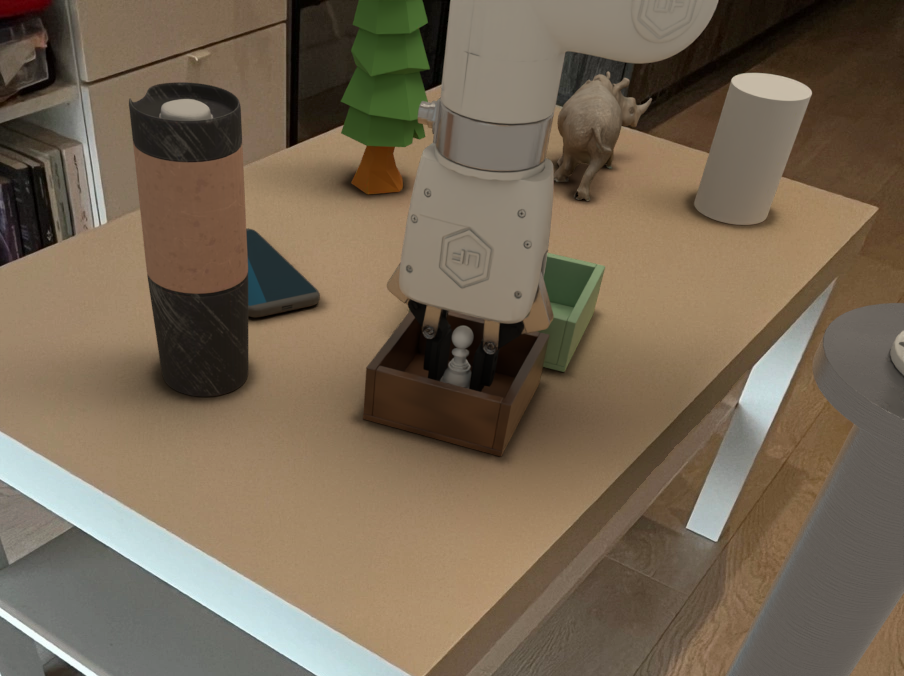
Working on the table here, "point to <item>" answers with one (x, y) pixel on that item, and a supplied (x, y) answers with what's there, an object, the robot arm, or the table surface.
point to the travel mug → (194, 232)
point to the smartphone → (274, 280)
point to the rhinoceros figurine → (594, 128)
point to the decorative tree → (385, 88)
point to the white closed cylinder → (751, 147)
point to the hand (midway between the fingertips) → (457, 383)
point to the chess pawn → (459, 358)
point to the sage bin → (569, 305)
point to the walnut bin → (453, 388)
